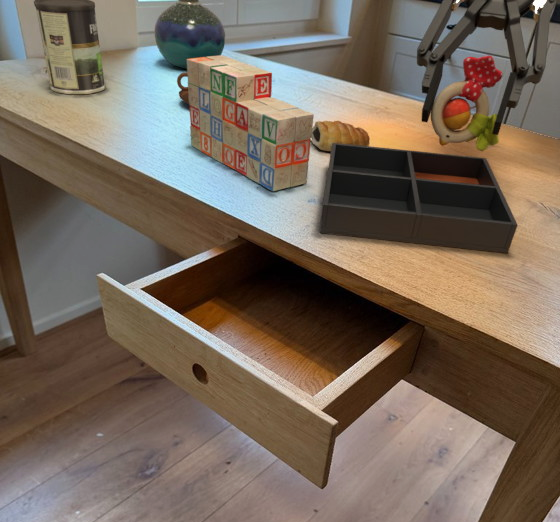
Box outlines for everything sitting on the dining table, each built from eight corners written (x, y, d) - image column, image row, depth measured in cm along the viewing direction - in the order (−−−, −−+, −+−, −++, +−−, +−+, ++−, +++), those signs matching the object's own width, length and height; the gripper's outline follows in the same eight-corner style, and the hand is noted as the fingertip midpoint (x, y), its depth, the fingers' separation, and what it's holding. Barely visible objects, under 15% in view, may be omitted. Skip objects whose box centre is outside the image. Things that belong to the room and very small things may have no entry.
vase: (198, 56, 136) (196, -10, 128) (239, 69, 128) (239, 0, 119) (143, 62, 128) (137, -8, 119) (182, 77, 120) (179, 3, 111)
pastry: (360, 138, 95) (363, 115, 93) (375, 153, 90) (379, 128, 88) (307, 140, 93) (309, 115, 91) (319, 154, 88) (322, 129, 86)
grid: (479, 182, 83) (486, 158, 81) (507, 253, 66) (517, 224, 64) (329, 167, 84) (332, 142, 82) (319, 232, 67) (322, 204, 65)
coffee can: (105, 81, 114) (94, -2, 105) (106, 95, 106) (94, 6, 97) (51, 80, 112) (35, -5, 102) (48, 95, 104) (31, 4, 95)
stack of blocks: (308, 184, 79) (317, 88, 71) (272, 193, 75) (277, 93, 68) (223, 139, 91) (222, 53, 83) (189, 145, 88) (185, 56, 80)
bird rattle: (445, 170, 73) (516, 144, 71) (429, 82, 67) (507, 51, 65) (434, 153, 78) (500, 129, 76) (418, 70, 71) (490, 41, 70)
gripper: (591, -11, 72) (541, 153, 71) (428, -29, 77) (379, 124, 76) (611, -63, 65) (556, 120, 64) (431, -79, 70) (376, 90, 69)
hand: (460, 122), depth 70 cm, fingers closed on bird rattle, 8 cm apart
